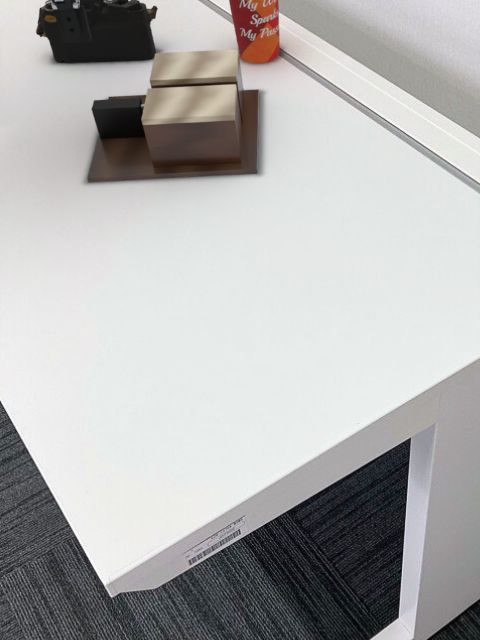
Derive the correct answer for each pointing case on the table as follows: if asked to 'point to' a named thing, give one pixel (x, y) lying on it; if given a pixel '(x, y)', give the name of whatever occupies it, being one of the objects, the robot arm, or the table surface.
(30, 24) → the table surface
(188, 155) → the blocks on base plate
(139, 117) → the knife
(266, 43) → the coffee cup
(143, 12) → the film camera
